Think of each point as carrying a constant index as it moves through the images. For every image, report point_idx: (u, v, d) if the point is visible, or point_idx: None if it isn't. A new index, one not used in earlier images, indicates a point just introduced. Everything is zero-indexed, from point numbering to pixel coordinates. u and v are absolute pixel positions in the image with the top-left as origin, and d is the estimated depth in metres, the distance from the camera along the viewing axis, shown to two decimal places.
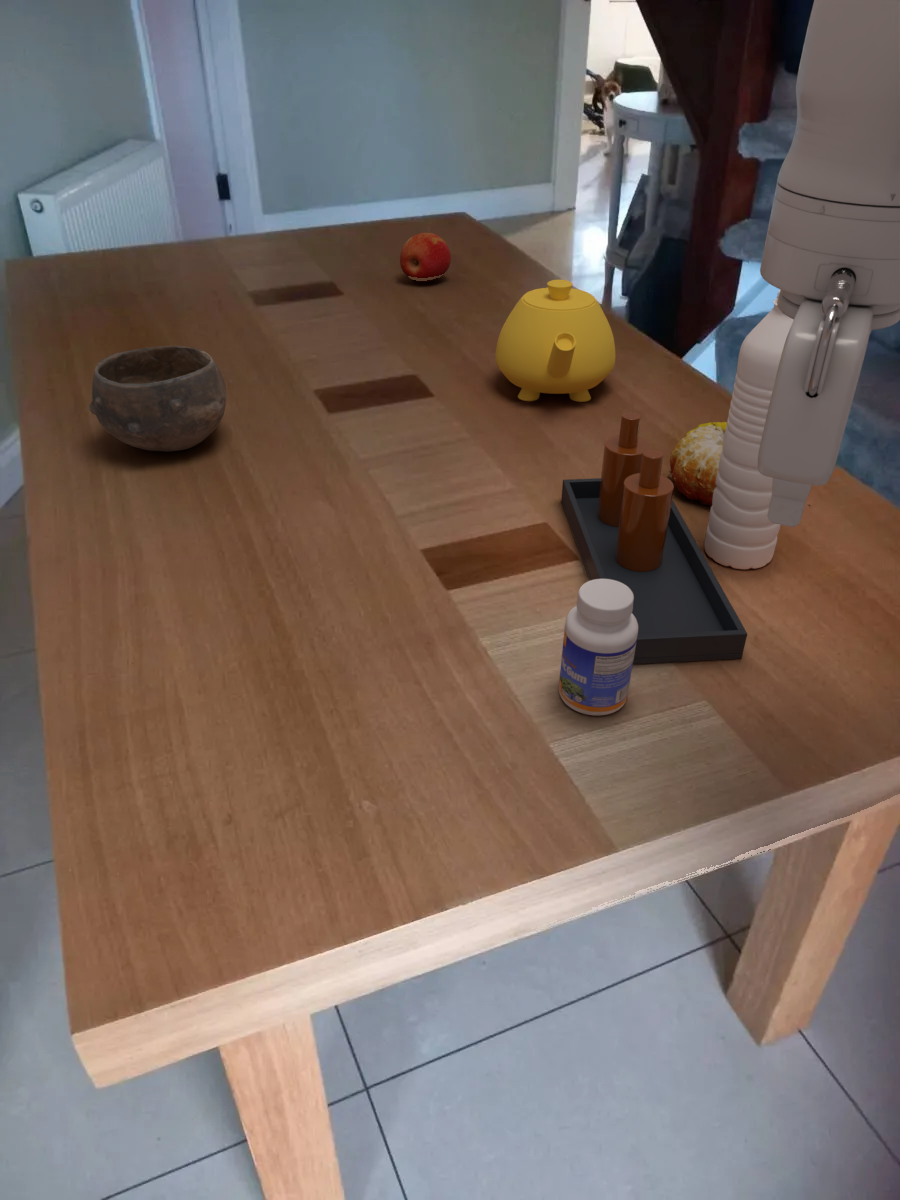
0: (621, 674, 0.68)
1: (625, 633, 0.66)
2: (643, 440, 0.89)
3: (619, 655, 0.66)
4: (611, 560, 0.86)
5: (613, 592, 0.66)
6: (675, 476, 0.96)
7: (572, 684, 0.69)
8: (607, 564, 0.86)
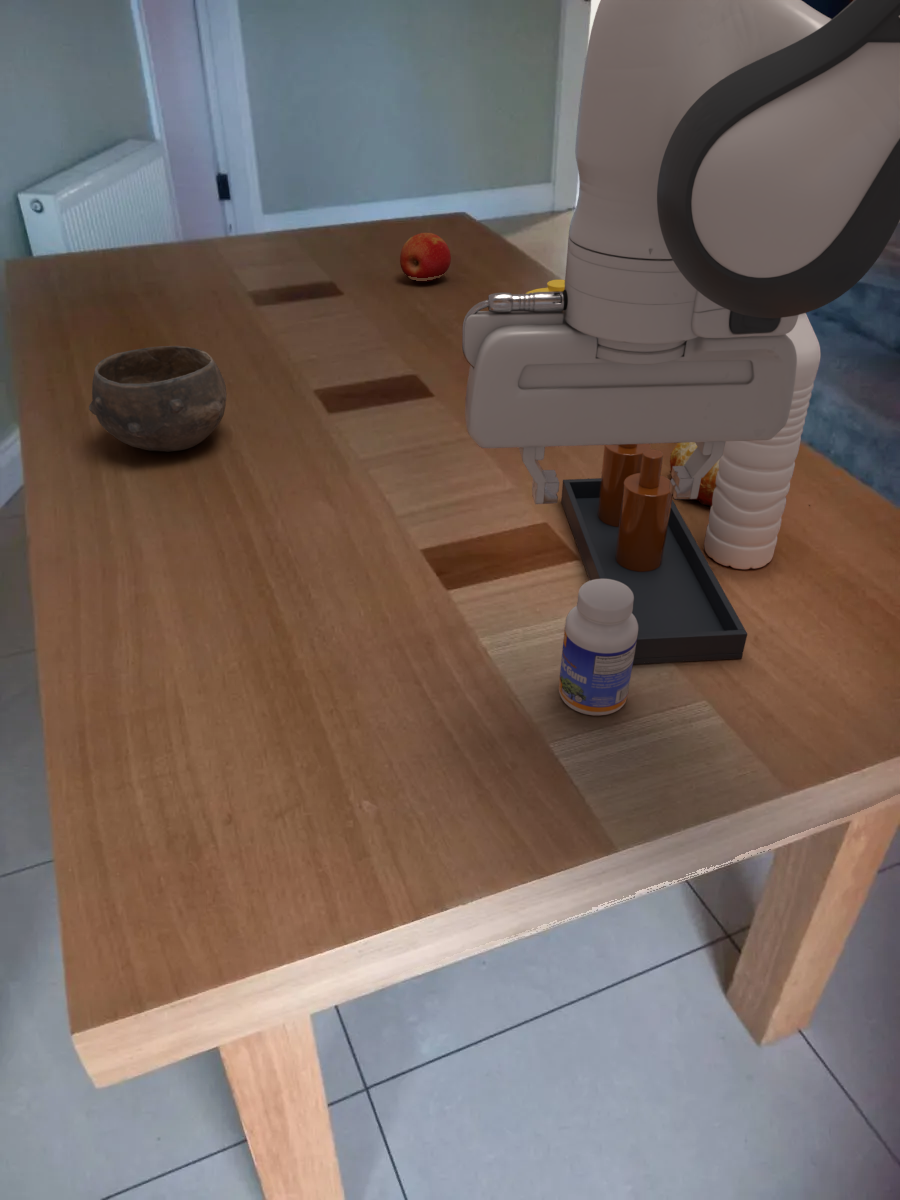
0: (621, 674, 0.68)
1: (625, 633, 0.66)
2: None
3: (619, 655, 0.66)
4: (611, 560, 0.86)
5: (613, 592, 0.66)
6: None
7: (572, 683, 0.69)
8: (607, 564, 0.86)
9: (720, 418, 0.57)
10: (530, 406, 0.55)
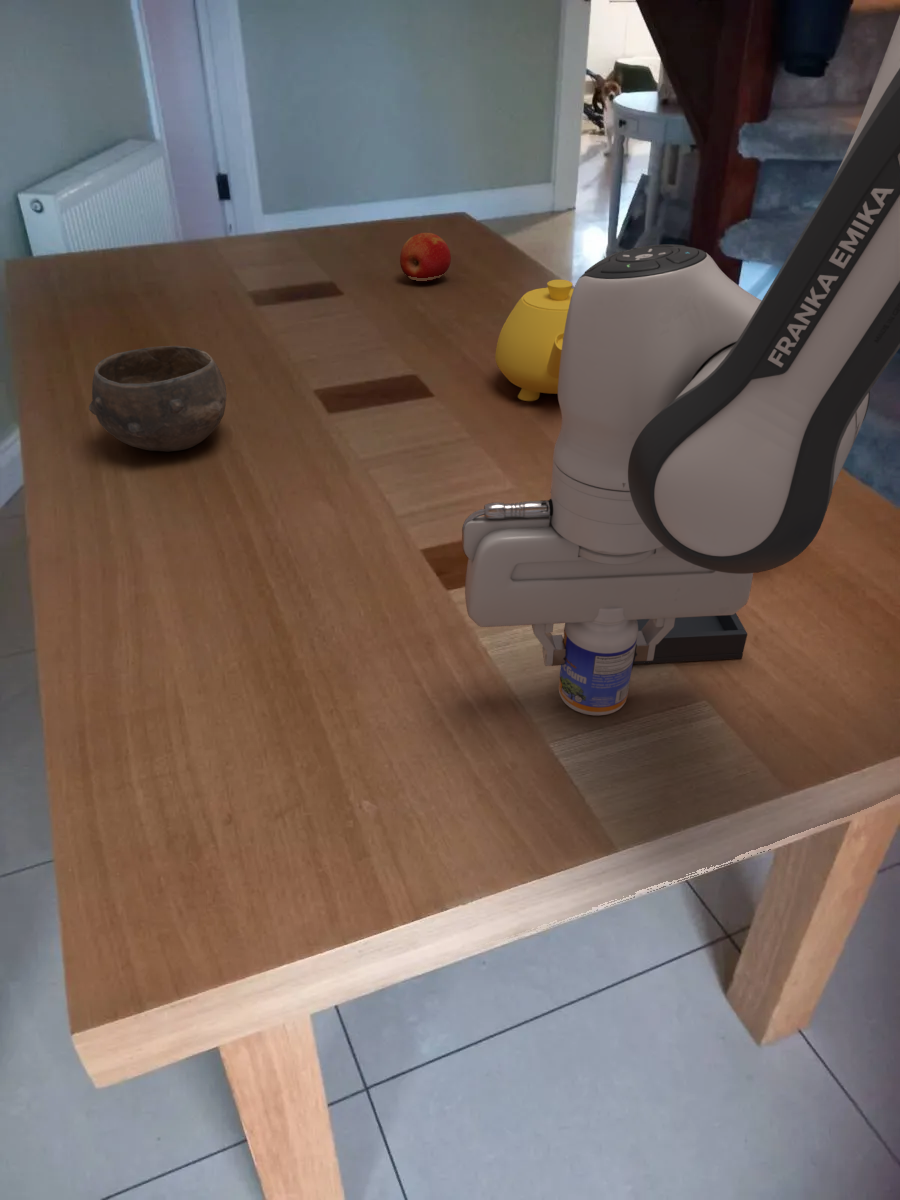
0: (621, 674, 0.68)
1: (625, 633, 0.66)
2: None
3: (619, 655, 0.66)
4: None
5: None
6: None
7: (572, 684, 0.69)
8: None
9: (689, 600, 0.65)
10: (521, 594, 0.64)
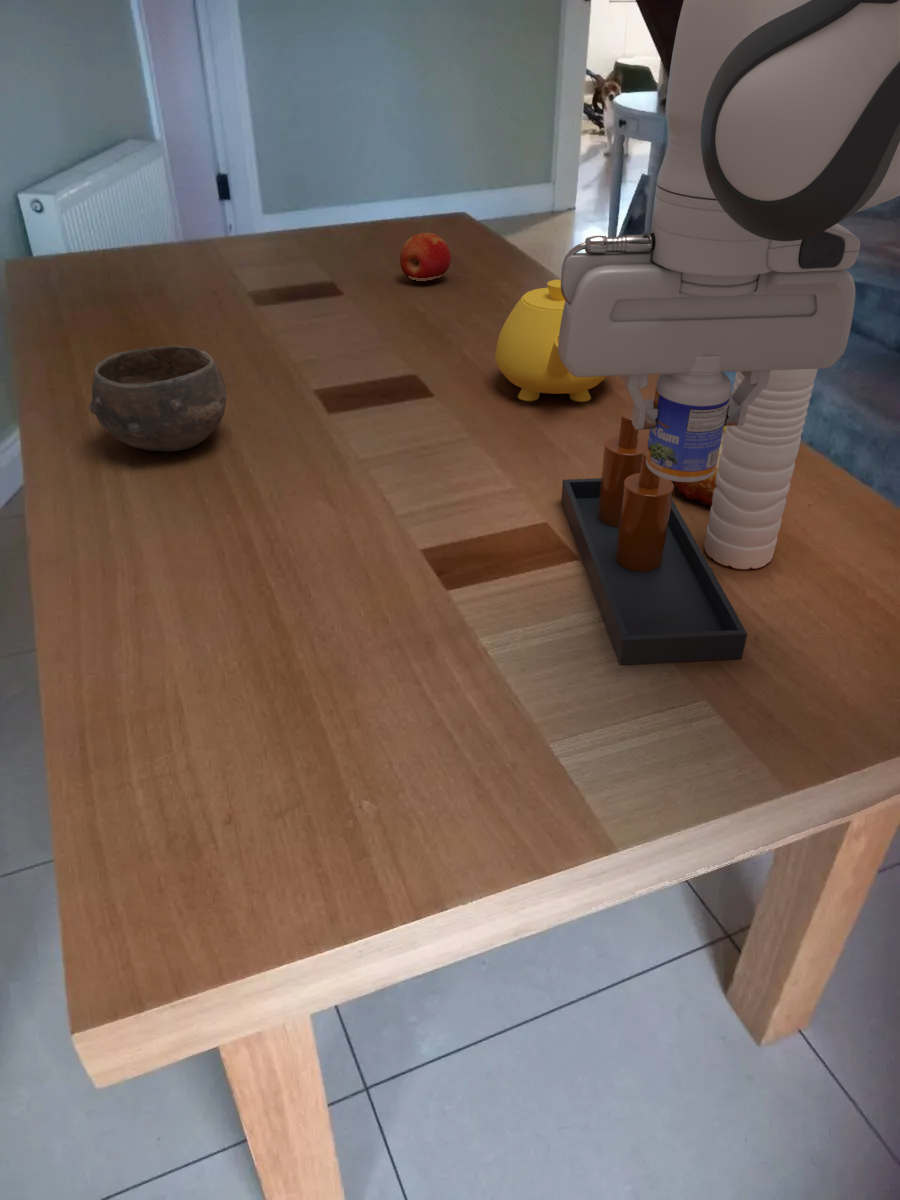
0: (714, 433, 0.67)
1: (720, 386, 0.66)
2: (643, 440, 0.89)
3: (714, 409, 0.66)
4: (611, 560, 0.86)
5: None
6: None
7: (663, 447, 0.68)
8: (607, 564, 0.86)
9: (786, 348, 0.64)
10: (620, 337, 0.63)
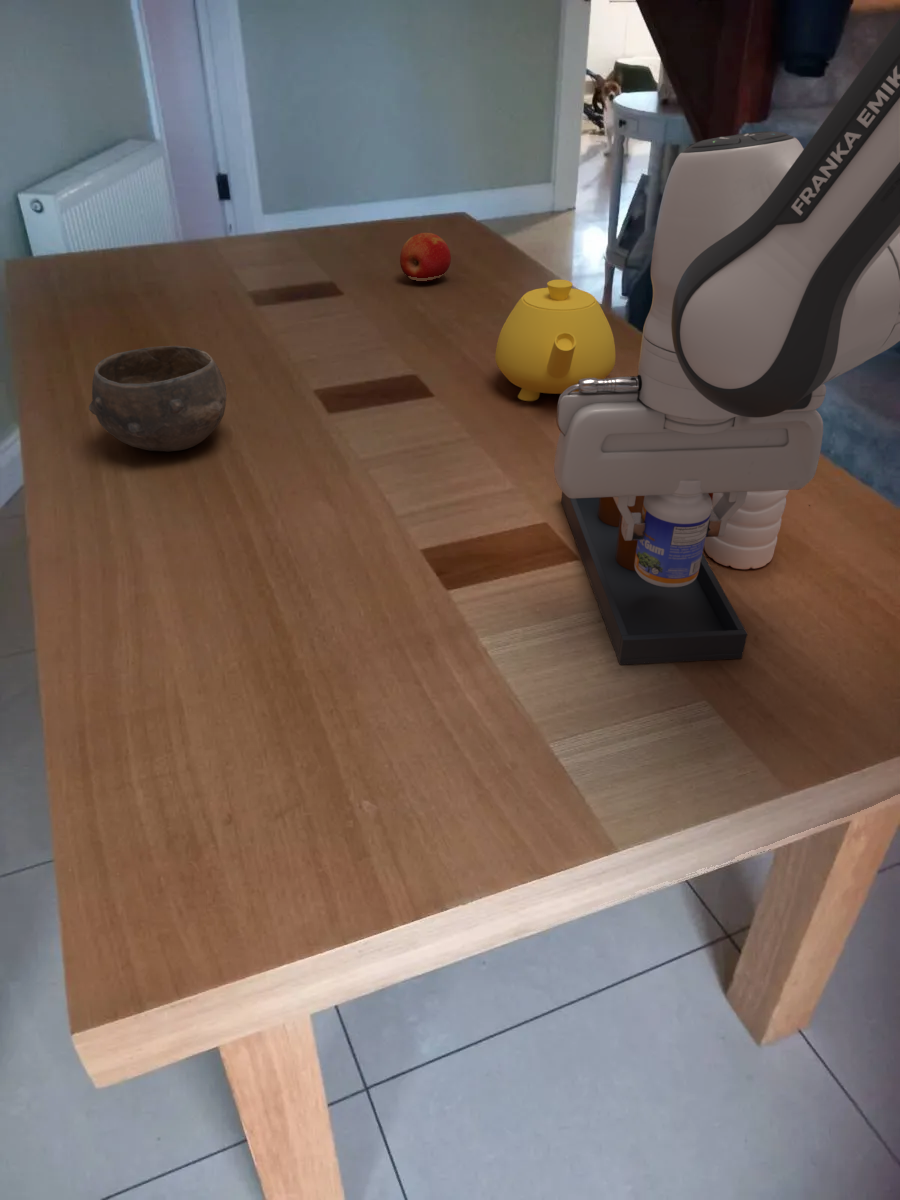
0: (696, 546, 0.74)
1: (702, 506, 0.72)
2: None
3: (696, 526, 0.72)
4: (611, 560, 0.86)
5: None
6: None
7: (650, 556, 0.75)
8: (607, 564, 0.86)
9: (761, 473, 0.71)
10: (609, 465, 0.70)
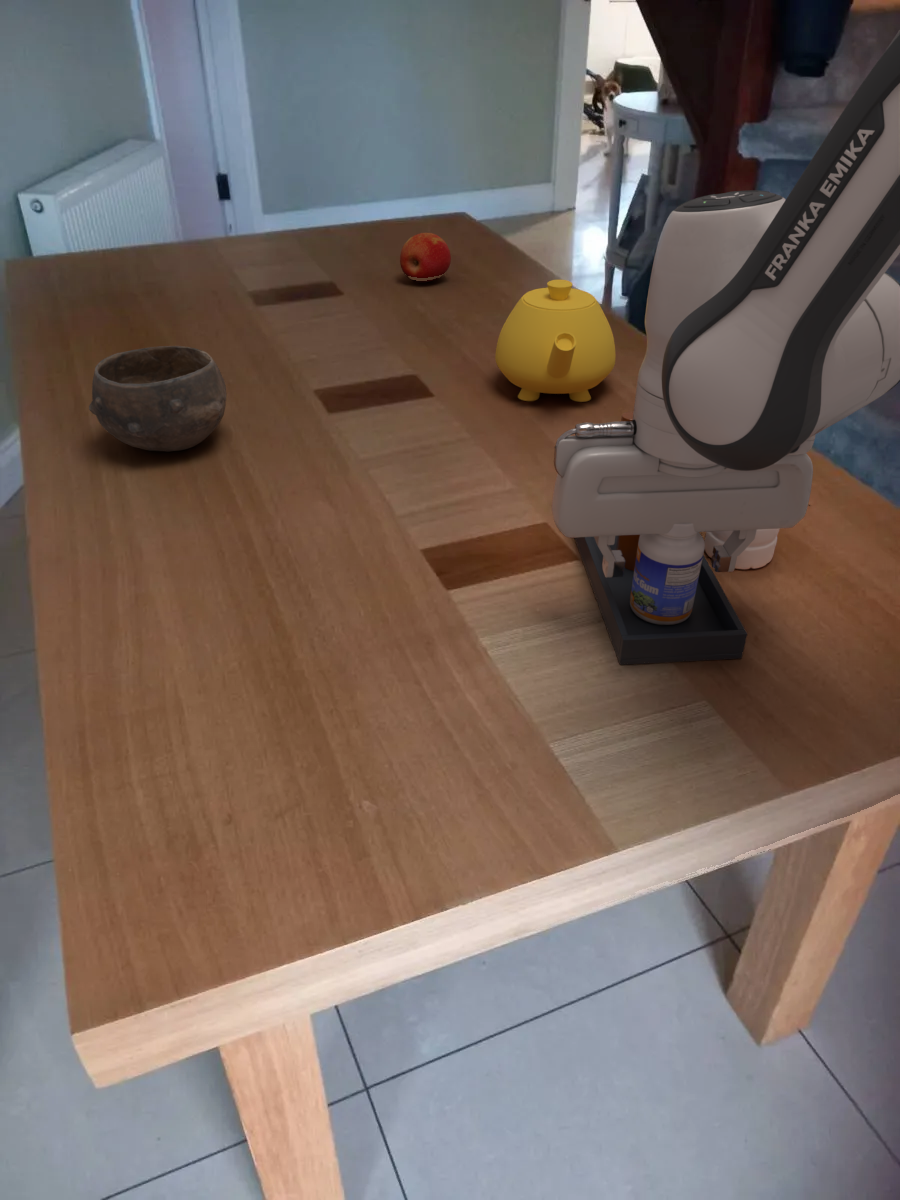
0: (689, 585, 0.76)
1: (694, 547, 0.74)
2: None
3: (689, 567, 0.75)
4: None
5: None
6: None
7: (645, 595, 0.77)
8: None
9: (753, 513, 0.73)
10: (606, 506, 0.72)
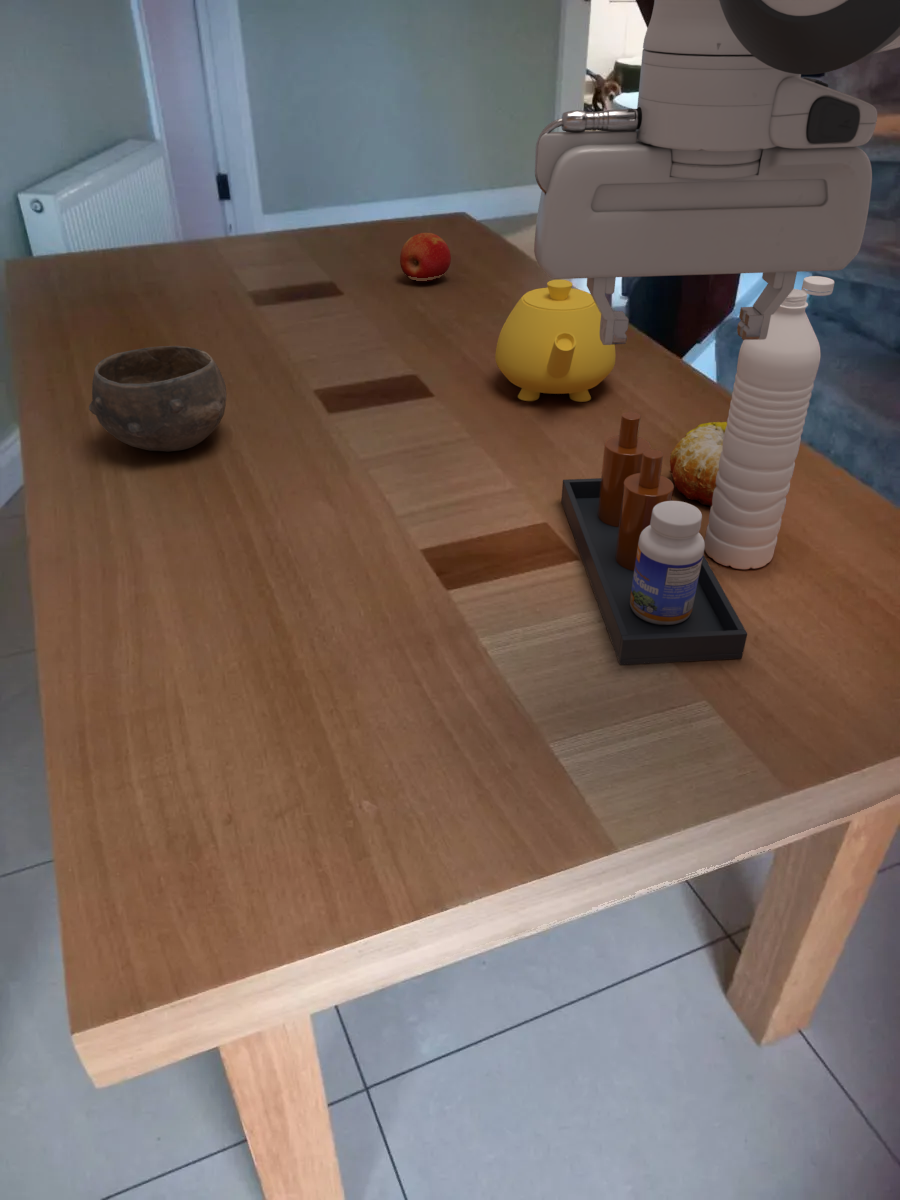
0: (689, 585, 0.76)
1: (694, 547, 0.74)
2: (643, 440, 0.89)
3: (689, 567, 0.75)
4: (611, 560, 0.86)
5: (683, 511, 0.75)
6: (675, 476, 0.96)
7: (645, 595, 0.77)
8: (607, 564, 0.86)
9: (793, 244, 0.57)
10: (602, 230, 0.55)
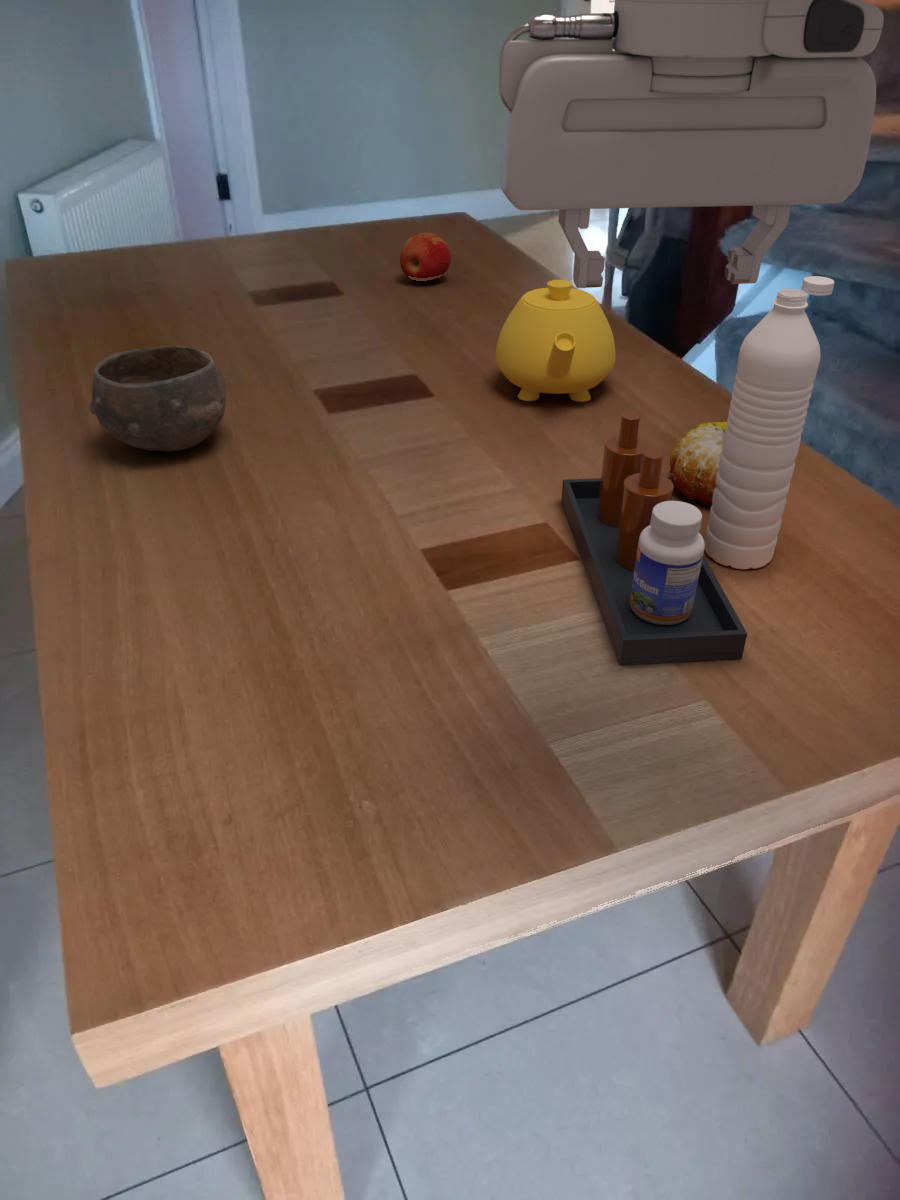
0: (689, 585, 0.76)
1: (694, 547, 0.74)
2: (643, 440, 0.89)
3: (689, 567, 0.75)
4: (611, 560, 0.86)
5: (683, 511, 0.75)
6: (675, 476, 0.96)
7: (645, 595, 0.77)
8: (607, 564, 0.86)
9: (787, 172, 0.51)
10: (575, 153, 0.49)
